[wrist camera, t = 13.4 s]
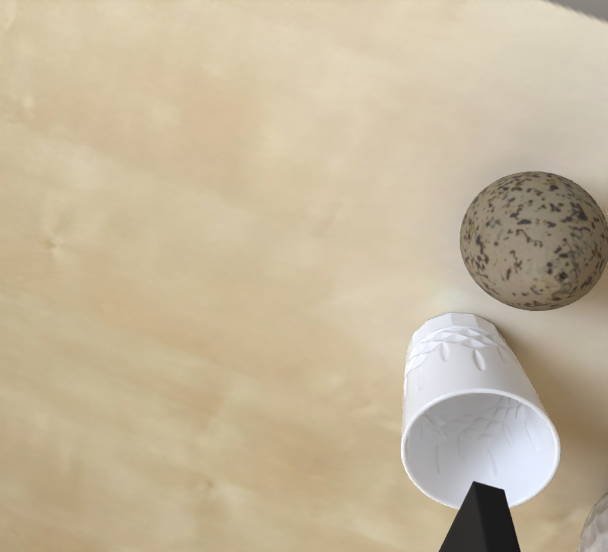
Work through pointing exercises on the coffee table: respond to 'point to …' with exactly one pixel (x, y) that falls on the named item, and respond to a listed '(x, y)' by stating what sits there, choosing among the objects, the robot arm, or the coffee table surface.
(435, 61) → the coffee table surface
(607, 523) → the vase
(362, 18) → the coffee table surface
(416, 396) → the white cup
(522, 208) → the decorative egg
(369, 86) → the coffee table surface
